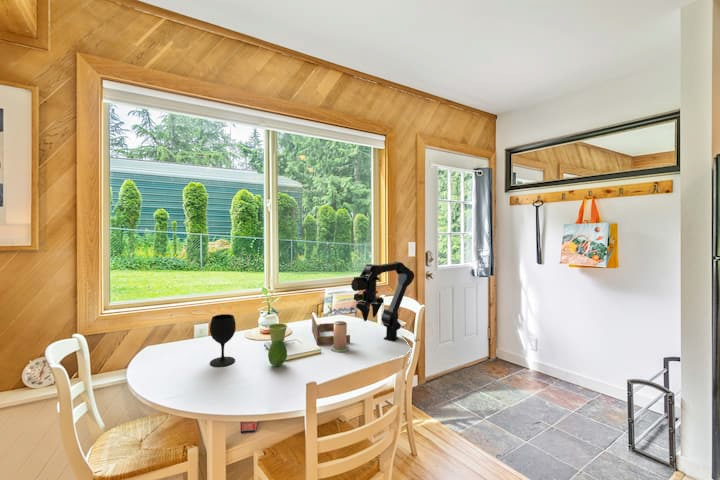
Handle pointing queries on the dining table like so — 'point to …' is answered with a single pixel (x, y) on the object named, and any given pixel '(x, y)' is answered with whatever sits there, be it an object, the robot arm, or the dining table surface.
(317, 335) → the cold frame
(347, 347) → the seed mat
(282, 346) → the avocado
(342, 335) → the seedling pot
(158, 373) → the dining table surface
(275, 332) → the plant pot
